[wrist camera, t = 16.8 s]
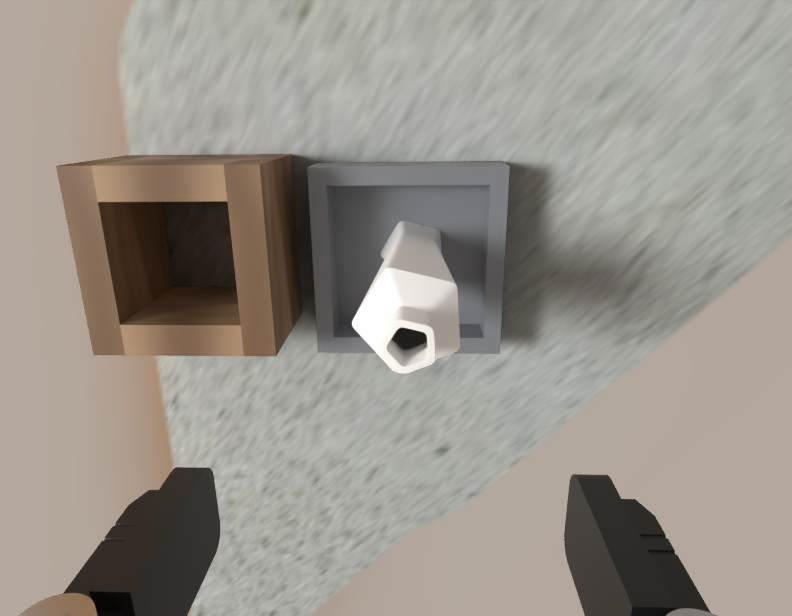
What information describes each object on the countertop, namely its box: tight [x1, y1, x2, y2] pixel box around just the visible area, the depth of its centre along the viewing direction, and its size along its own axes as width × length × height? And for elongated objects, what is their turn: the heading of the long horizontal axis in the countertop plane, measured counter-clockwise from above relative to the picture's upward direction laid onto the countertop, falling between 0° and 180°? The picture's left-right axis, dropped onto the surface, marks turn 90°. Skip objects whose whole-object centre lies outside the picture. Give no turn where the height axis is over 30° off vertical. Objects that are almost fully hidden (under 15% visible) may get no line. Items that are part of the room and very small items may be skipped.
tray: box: [307, 161, 510, 354], centre depth 34 cm, size 11×11×3 cm
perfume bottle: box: [352, 221, 460, 374], centre depth 28 cm, size 5×4×15 cm
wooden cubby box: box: [56, 154, 302, 356], centre depth 32 cm, size 10×10×7 cm
